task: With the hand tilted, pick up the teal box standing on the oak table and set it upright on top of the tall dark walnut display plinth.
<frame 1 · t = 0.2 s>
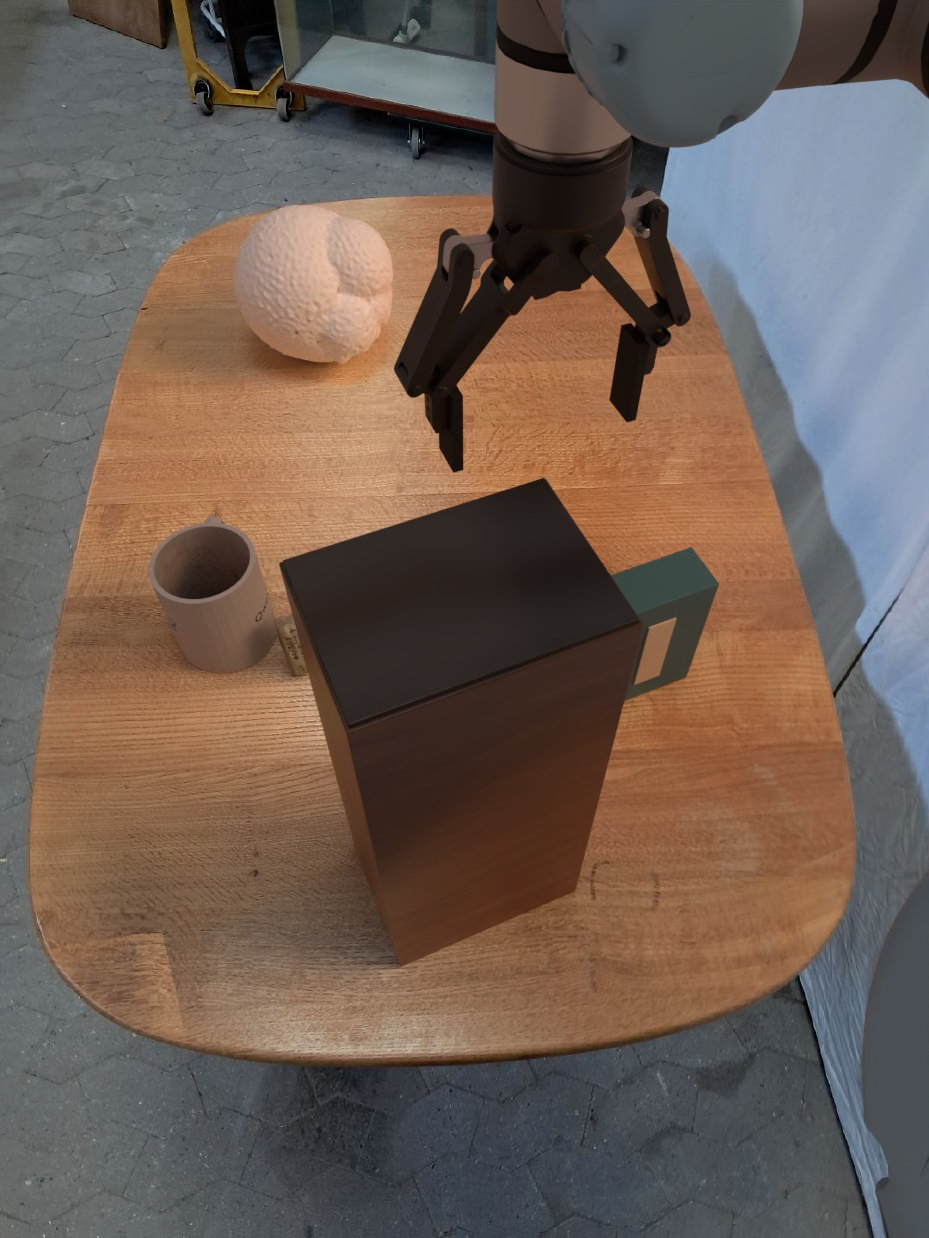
hand: (538, 434, 65), 22 cm above the table, tool pointing down, fingers open, 13 cm apart
decorative orb: (325, 344, 107), on the table
mug: (234, 618, 83), on the table
teal box: (629, 676, 79), on the table
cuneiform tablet: (355, 652, 81), on the table
pedestal: (462, 866, 69), on the table
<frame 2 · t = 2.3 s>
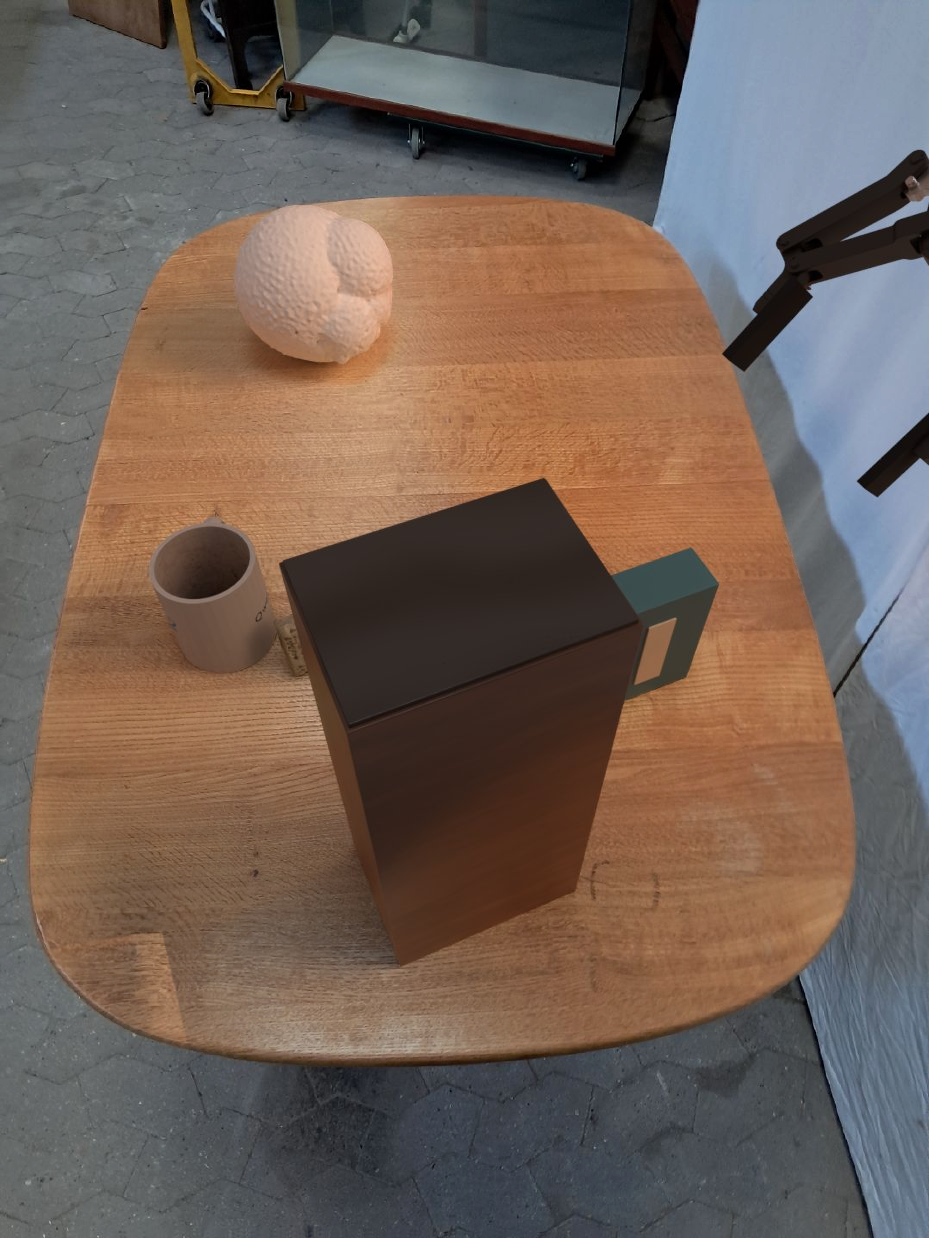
hand: (795, 423, 61), 25 cm above the table, tool tilted 45°, fingers open, 13 cm apart
nothing on the table moved.
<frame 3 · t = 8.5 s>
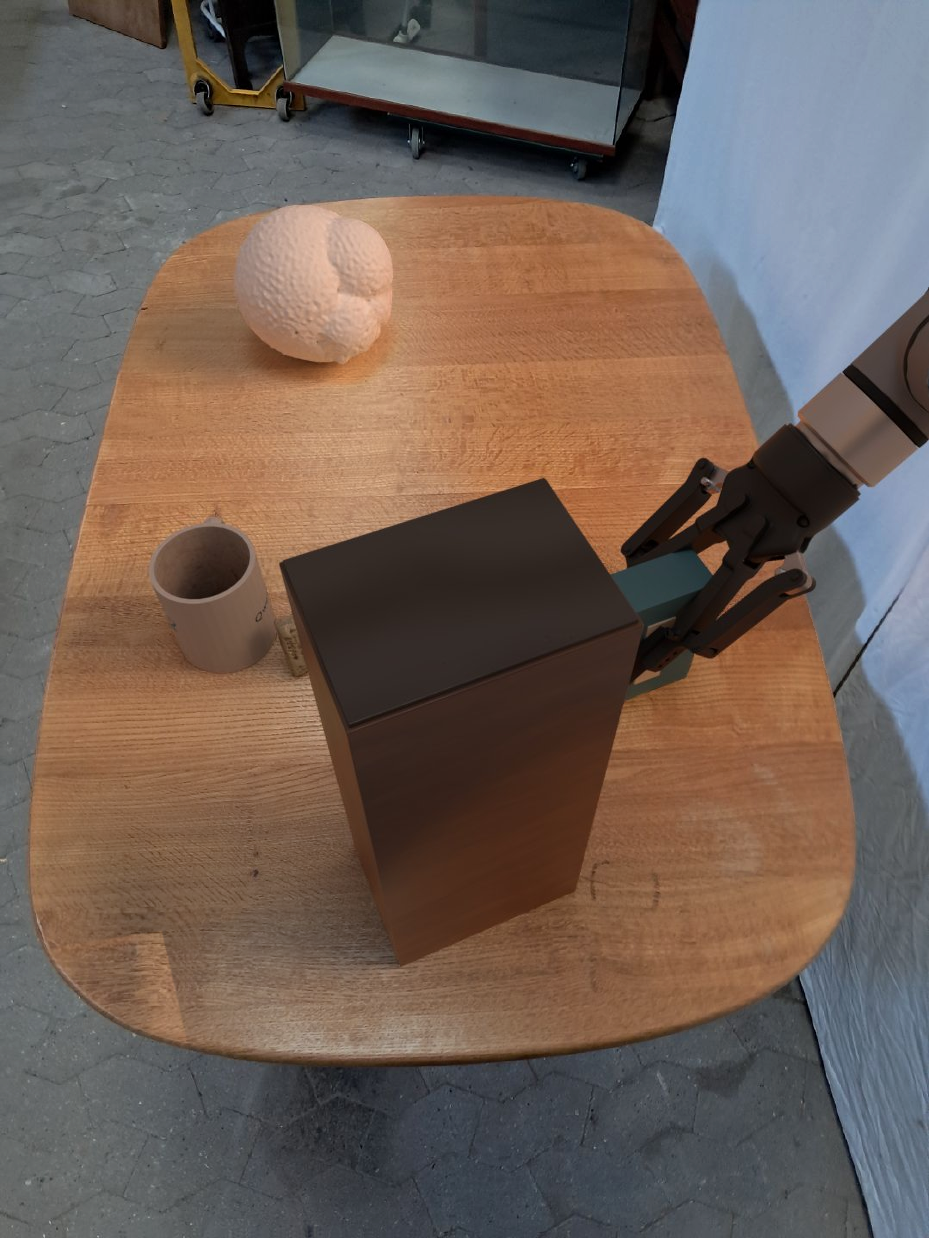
hand: (597, 660, 74), 5 cm above the table, tool tilted 45°, fingers closed on teal box, 4 cm apart
teal box: (629, 676, 79), on the table, touching gripper
everything else where it was.
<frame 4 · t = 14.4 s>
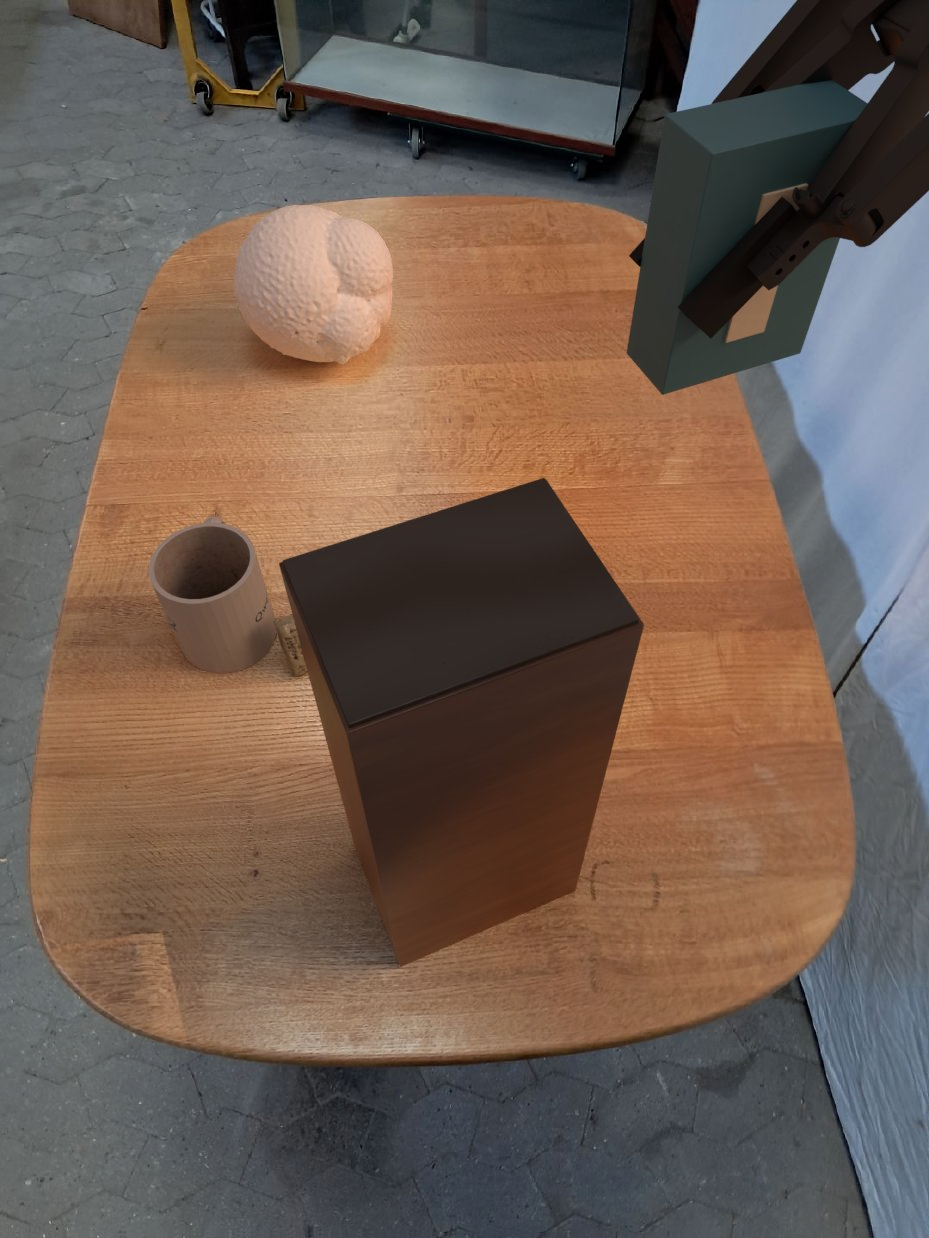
hand: (670, 296, 47), 39 cm above the table, tool tilted 45°, fingers closed on teal box, 4 cm apart
teal box: (713, 353, 51), point 34 cm above the table, touching gripper
everything else where it was.
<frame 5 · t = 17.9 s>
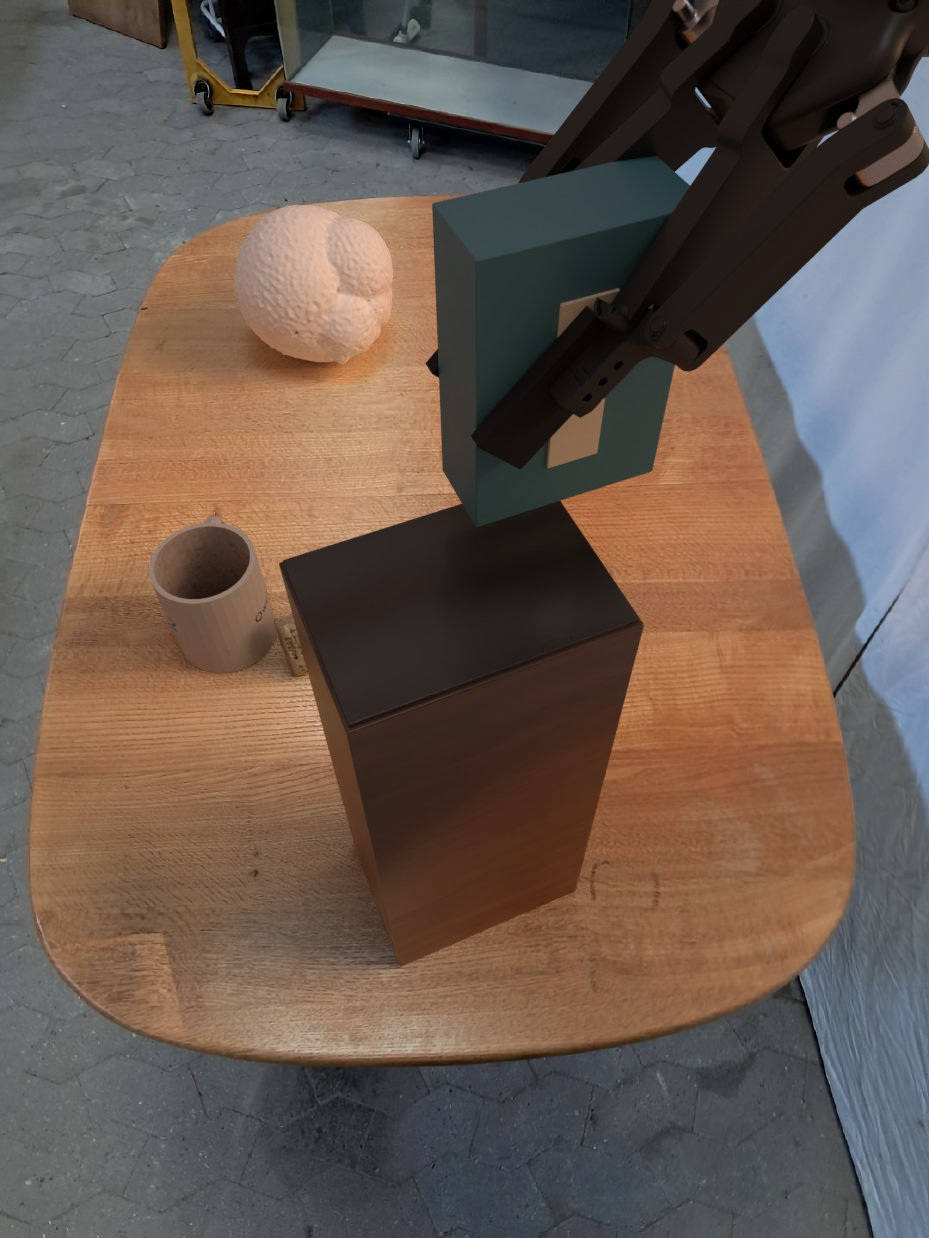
hand: (473, 415, 38), 41 cm above the table, tool tilted 45°, fingers closed on teal box, 4 cm apart
teal box: (547, 471, 42), point 36 cm above the table, touching gripper
everything else where it was.
when the fingers open (39 cm above the table, at t = 20.3 s): teal box stays where it is, resting on pedestal.
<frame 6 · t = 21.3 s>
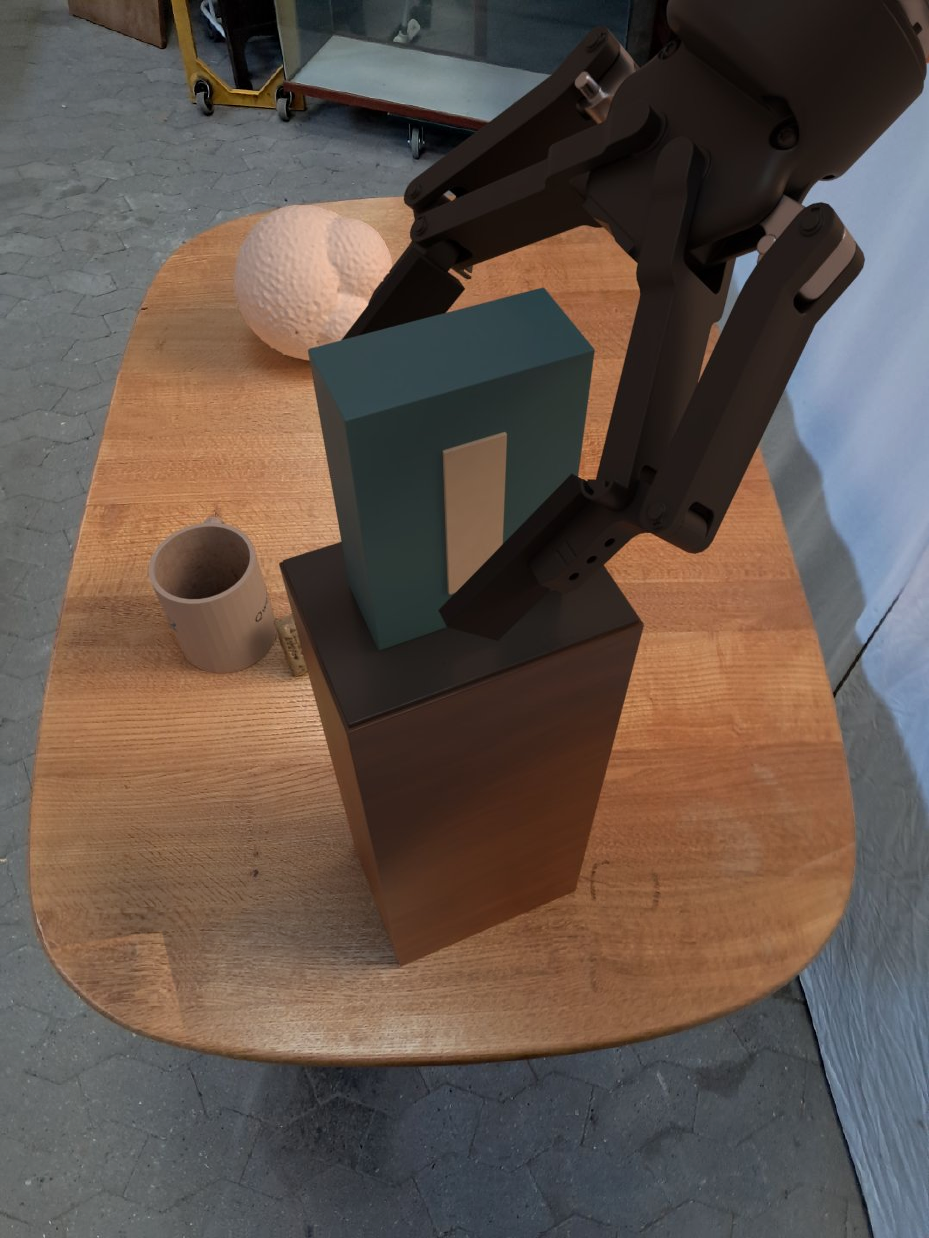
hand: (398, 496, 35), 41 cm above the table, tool tilted 45°, fingers open, 13 cm apart
teal box: (456, 586, 41), point 34 cm above the table, touching pedestal
everything else where it was.
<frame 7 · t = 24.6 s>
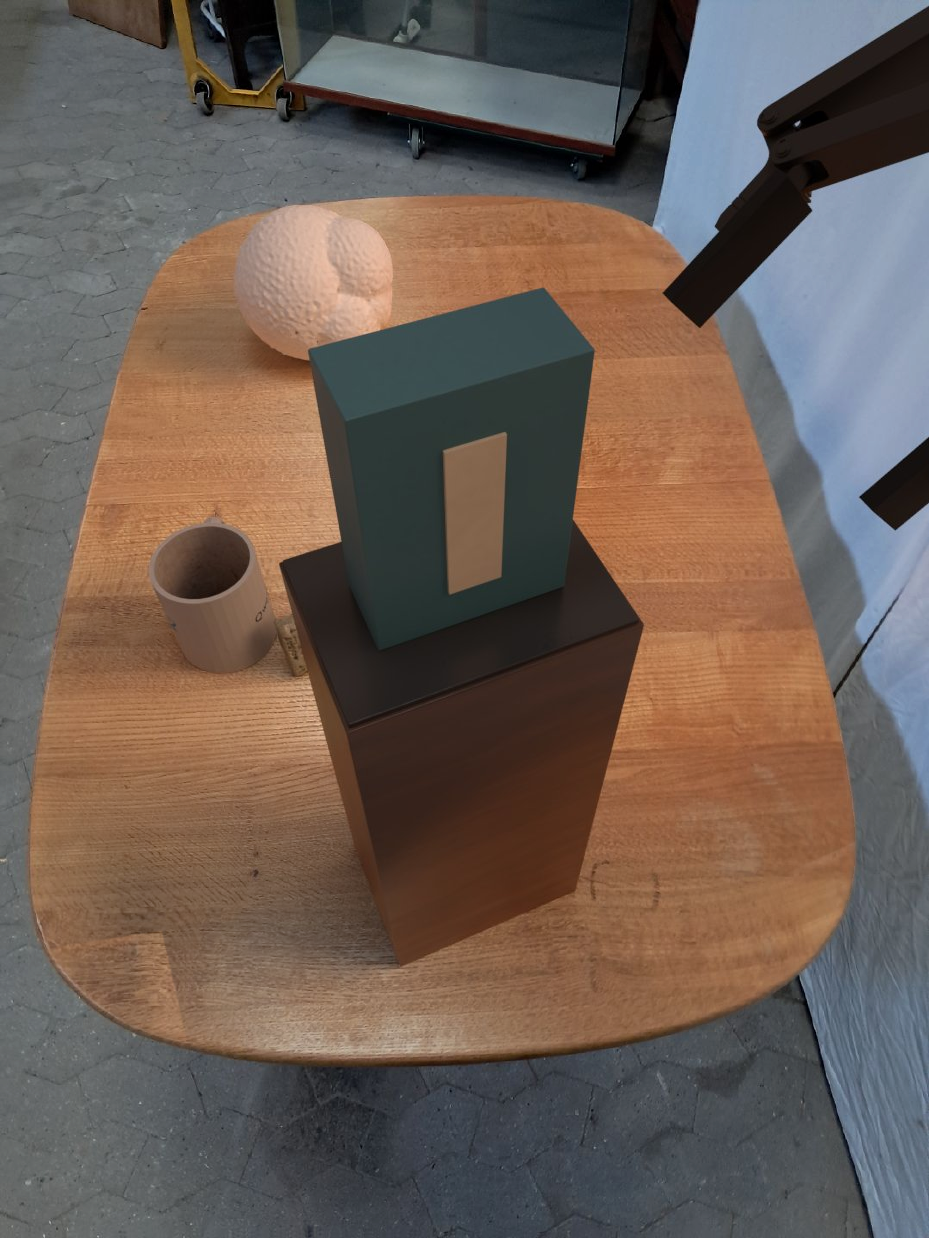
hand: (768, 403, 37), 42 cm above the table, tool tilted 45°, fingers open, 13 cm apart
nothing on the table moved.
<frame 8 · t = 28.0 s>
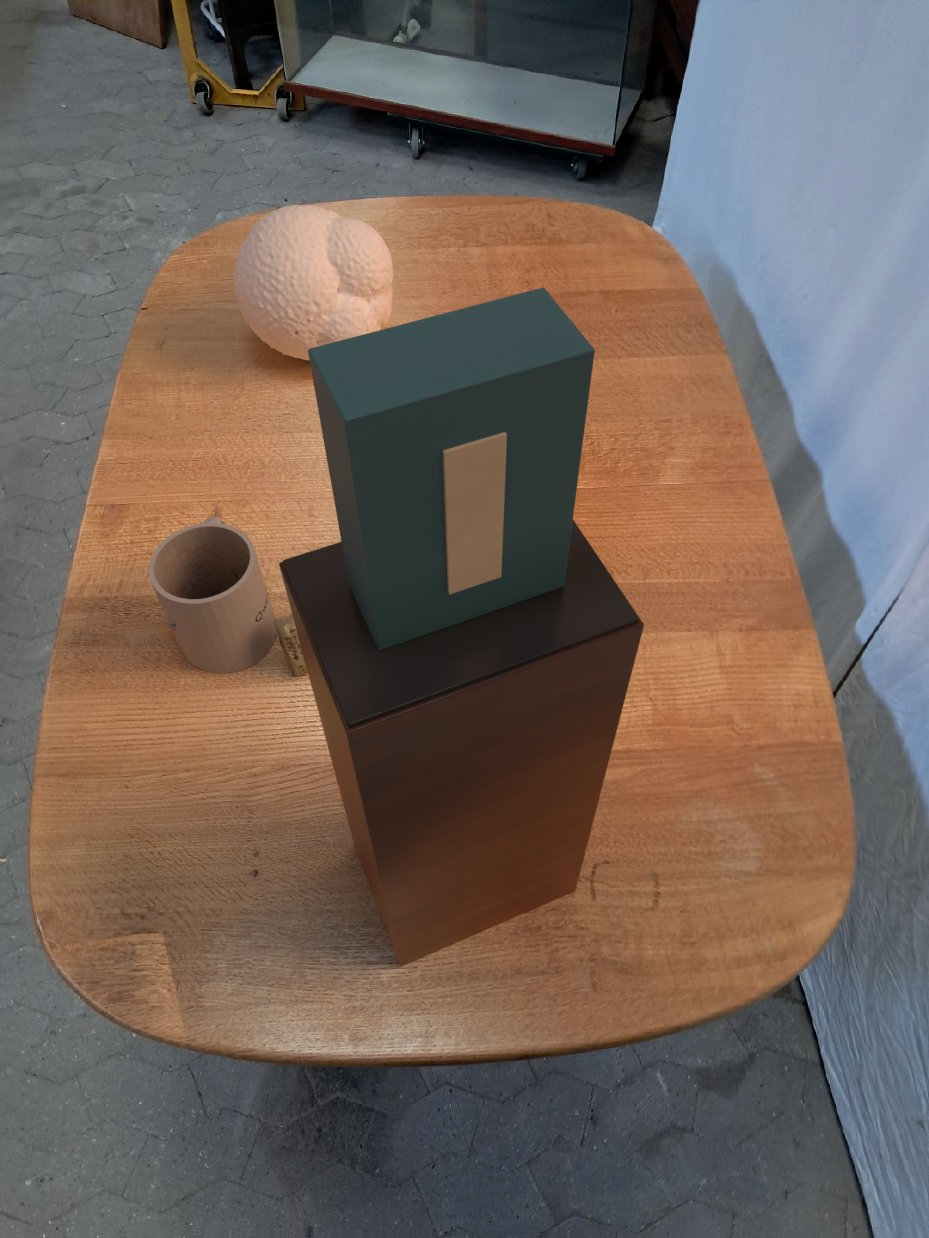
nothing on the table moved.
at the end: teal box inside the target area on the pedestal (0.1 cm from its centre), point 34.0 cm above the pedestal's base; teal box tilted 0°; the gripper is holding nothing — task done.
